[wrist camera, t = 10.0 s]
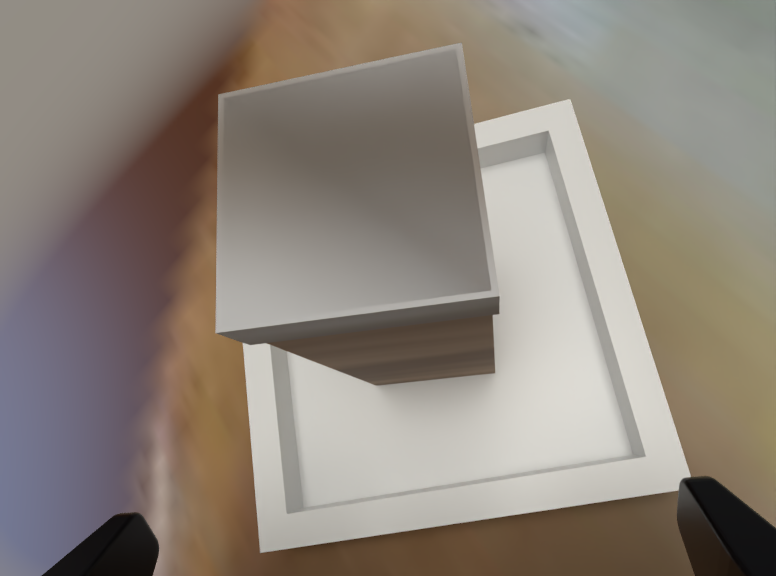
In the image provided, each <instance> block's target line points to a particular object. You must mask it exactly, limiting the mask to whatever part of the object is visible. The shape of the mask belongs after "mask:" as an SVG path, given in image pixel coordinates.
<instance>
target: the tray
mask: <svg viewBox="0 0 776 576" xmlns="http://www.w3.org/2000/svg"><path fill="white" fill-rule="evenodd" d="M474 128H475V135H476V141H477V148H478V155H479V161H480V168H481V175H482V182H483V188H484V195H485V202H486V208H487V215H488V222H489V229H490V235H491V242H492V249H493V255H494V262H495V269H496V276H497V282H498V289H499V296H500V302H499V314H497V315H493V334H494V356H495V373H492V374H482V375H473V376H463V377H454V378H444V379H435V380H425V381H416V382H406V383H397V384H387V385H378V386H376V385H373V384H371V383H368V382H365V381H363V380H360V379H358V378H355V377H352V376H350V375H347V374H345V373H342V372H339V371H337V370H334V369H332V368H329V367H327V366H324V365H321V364H319V363H316V362H314V361H311V360H308V359H306V358H303V357H301V356H298V355H295V354H293V353H290V352H288V351H285V350H282V349H280V348H277V347H275V346H272V345H269V344H267V343H263V344H255V345H248V344H245V343H243V350H244V362H245V374H246V386H247V398H248V411H249V423H250V435H251V447H252V459H253V471H254V483H255V495H256V507H257V519H258V531H259V544H260V553H263V552H270V551H276V550H283V549H290V548H297V547H303V546H310V545H317V544H323V543H330V542H337V541H343V540H350V539H357V538H363V537H370V536H377V535H383V534H390V533H397V532H404V531H410V530H417V529H424V528H430V527H437V526H444V525H450V524H457V523H464V522H470V521H477V520H484V519H490V518H497V517H504V516H511V515H517V514H524V513H531V512H537V511H544V510H551V509H557V508H564V507H571V506H577V505H584V504H591V503H598V502H604V501H611V500H618V499H624V498H631V497H638V496H644V495H651V494H658V493H664V492H671V491H678V490H679V484H680V481H681V479H683V478H685V477H691V475H690V472H689V469H688V466H687V463H686V460H685V457H684V454H683V450H682V447H681V444H680V441H679V438H678V435H677V432H676V428H675V425H674V422H673V419H672V416H671V413H670V410H669V407H668V403H667V400H666V397H665V394H664V391H663V388H662V385H661V382H660V378H659V375H658V372H657V369H656V366H655V363H654V360H653V357H652V353H651V350H650V347H649V344H648V341H647V338H646V335H645V332H644V328H643V325H642V322H641V319H640V316H639V313H638V310H637V307H636V303H635V300H634V297H633V294H632V291H631V288H630V285H629V281H628V278H627V275H626V272H625V269H624V266H623V263H622V260H621V256H620V253H619V250H618V247H617V244H616V241H615V238H614V235H613V231H612V228H611V225H610V222H609V219H608V216H607V213H606V210H605V206H604V203H603V200H602V197H601V194H600V191H599V188H598V185H597V181H596V178H595V175H594V172H593V169H592V166H591V163H590V159H589V156H588V153H587V150H586V147H585V144H584V141H583V138H582V134H581V131H580V128H579V125H578V122H577V119H576V116H575V113H574V109H573V106H572V103H571V100H570V99H568V100H564V101H561V102H557V103H553V104H549V105H545V106H541V107H538V108H534V109H530V110H526V111H522V112H518V113H515V114H511V115H507V116H503V117H499V118H495V119H492V120H488V121H484V122H480V123H476V124H474Z"/></svg>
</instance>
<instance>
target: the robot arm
mask: <svg viewBox="0 0 776 576" xmlns="http://www.w3.org/2000/svg"><path fill="white" fill-rule="evenodd" d="M677 521H678V526H679V530H680V533H681V536H682V539H683V542H684V545H685V548H686V551H687V554H688V556H689V559H690V562H691V565H692V568H693V571H694V574H695V576H776V528H775V527H774V526H773V525H771V524H770V523H769V522H768V521H766V520H765V519H764V518H763V517H761V516H760V515H759V514H758V513H756V512H755V511H754V510H753V509H751V508H750V507H749V506H748V505H746V504H745V503H744V502H743V501H742V500H740V499H739V498H738V497H737V496H735V495H734V494H733V493H732V492H730V491H729V490H728V489H727V488H725V487H724V486H723V485H722V484H720V483H719V482H718V481H717V480H715V479H714V478H711V477H709V476H700V477H685V478H683V479H681V481H680V484H679V493H678V506H677ZM158 554H159V544H158V540H157V538H156V537H155V535H154V533H153V532H152V530H151V528H150V527H149V525H148V524H147V522H146V520H145V519H144V517H143V516H142V515H141V514H140V513H137V512H132V513H120V514H116V515H114V516H113V517H112V518H110V519H109V520H108V521H107V522H105V523H104V524H103V525H102V526H101V527H100V528H98V529H97V530H96V531H95V532H94V533H92V534H91V535H90V536H89V537H88V538H86V539H85V540H84V541H83V542H81V543H80V544H79V545H78V546H77V547H76V548H74V549H73V550H72V551H71V552H70V553H68V554H67V555H66V556H65V557H64V558H62V559H61V560H60V561H59V562H58V563H56V564H55V565H54V566H53V567H52V568H50V569H49V570H48V571H47V572H46V573H44V574H43V575H42V576H153V572H154V569H155V565H156V562H157V558H158Z"/></svg>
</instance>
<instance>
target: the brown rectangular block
mask: <svg viewBox="0 0 776 576" xmlns="http://www.w3.org/2000/svg"><path fill="white" fill-rule="evenodd" d="M499 302H500V296H499V289H498V282H497V276H496V269H495V262H494V255H493V249H492V242H491V235H490V229H489V222H488V215H487V208H486V202H485V195H484V188H483V182H482V175H481V168H480V161H479V155H478V148H477V141H476V135H475V128H474V121H473V115H472V108H471V101H470V94H469V88H468V81H467V74H466V68H465V61H464V54H463V47H462V43H457V44H453V45H448V46H443V47H439V48H434V49H429V50H425V51H420V52H415V53H411V54H406V55H401V56H397V57H392V58H387V59H383V60H378V61H373V62H369V63H364V64H359V65H355V66H350V67H345V68H341V69H336V70H331V71H327V72H322V73H317V74H313V75H308V76H303V77H298V78H294V79H289V80H284V81H280V82H275V83H270V84H266V85H261V86H256V87H252V88H247V89H242V90H238V91H233V92H228V93H224V94H219V95H218V176H217V263H216V333H217V334H220V335H223V336H226V337H228V338H231V339H234V340H237V341H240V342H243V343H245V344H248V345H255V344H263V343H267V344H269V345H272V346H275V347H277V348H280V349H282V350H285V351H288V352H290V353H293V354H295V355H298V356H301V357H303V358H306V359H308V360H311V361H314V362H316V363H319V364H321V365H324V366H327V367H329V368H332V369H334V370H337V371H339V372H342V373H345V374H347V375H350V376H352V377H355V378H358V379H360V380H363V381H365V382H368V383H371V384H373V385H376V386H378V385H387V384H397V383H406V382H416V381H425V380H435V379H444V378H454V377H463V376H473V375H482V374H492V373H495V356H494V334H493V315H497V314H499Z"/></svg>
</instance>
